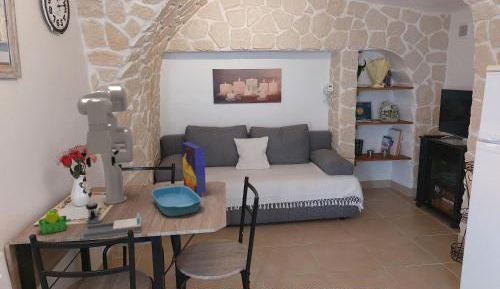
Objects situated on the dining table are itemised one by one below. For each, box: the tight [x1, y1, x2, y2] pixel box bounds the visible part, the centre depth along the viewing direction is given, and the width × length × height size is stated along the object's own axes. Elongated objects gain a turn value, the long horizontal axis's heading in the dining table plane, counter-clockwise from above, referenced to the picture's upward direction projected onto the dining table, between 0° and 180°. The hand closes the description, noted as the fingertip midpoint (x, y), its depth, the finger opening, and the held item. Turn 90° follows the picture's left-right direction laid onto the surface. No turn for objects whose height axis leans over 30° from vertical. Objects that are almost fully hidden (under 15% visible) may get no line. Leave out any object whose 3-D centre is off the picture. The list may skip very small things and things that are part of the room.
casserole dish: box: [151, 185, 202, 217], centre depth 192 cm, size 37×22×7 cm, turn 28°
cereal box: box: [181, 141, 207, 198], centre depth 214 cm, size 22×6×30 cm, turn 30°
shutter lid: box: [113, 212, 142, 230], centre depth 163 cm, size 9×12×4 cm
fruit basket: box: [38, 208, 68, 235], centre depth 162 cm, size 11×9×11 cm
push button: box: [85, 201, 103, 225], centre depth 171 cm, size 7×5×10 cm
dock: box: [79, 221, 142, 241], centre depth 162 cm, size 13×26×2 cm, turn 106°
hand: (101, 165), depth 155 cm, fingers open, 9 cm apart
